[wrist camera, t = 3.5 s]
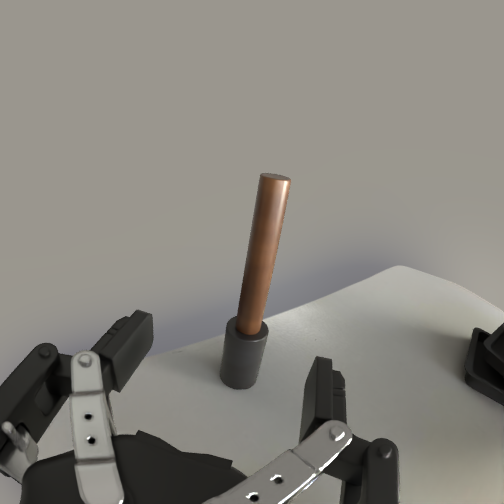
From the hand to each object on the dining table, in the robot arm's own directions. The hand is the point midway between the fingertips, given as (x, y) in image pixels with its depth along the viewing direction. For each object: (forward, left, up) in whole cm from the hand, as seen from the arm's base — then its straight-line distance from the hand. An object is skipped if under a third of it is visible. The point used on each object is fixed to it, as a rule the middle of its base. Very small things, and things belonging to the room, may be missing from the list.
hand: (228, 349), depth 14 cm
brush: (+8, +3, -11) cm, 14 cm away
